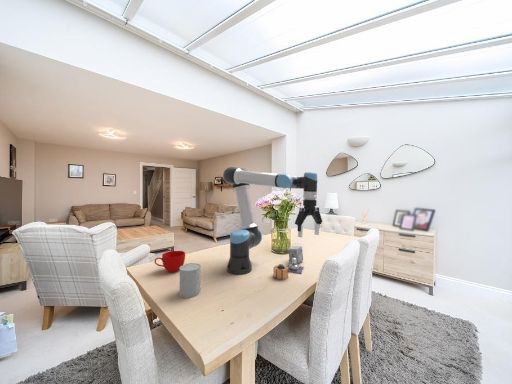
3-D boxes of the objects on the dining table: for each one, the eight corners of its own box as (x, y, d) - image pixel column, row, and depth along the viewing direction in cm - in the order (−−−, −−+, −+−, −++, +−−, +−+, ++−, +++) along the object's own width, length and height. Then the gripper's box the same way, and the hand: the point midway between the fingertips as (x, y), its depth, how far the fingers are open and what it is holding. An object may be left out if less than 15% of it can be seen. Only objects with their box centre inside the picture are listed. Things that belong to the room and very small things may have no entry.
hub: (284, 271, 127) (284, 259, 127) (287, 265, 136) (288, 255, 136) (301, 273, 123) (301, 262, 123) (303, 268, 133) (303, 257, 133)
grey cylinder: (192, 286, 106) (193, 261, 106) (204, 292, 100) (204, 266, 100) (175, 293, 99) (175, 267, 99) (186, 300, 93) (187, 272, 93)
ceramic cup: (154, 269, 127) (154, 253, 127) (183, 265, 135) (183, 249, 135) (154, 277, 116) (154, 259, 116) (186, 272, 124) (186, 255, 124)
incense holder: (292, 259, 150) (292, 244, 150) (303, 261, 146) (303, 246, 146) (286, 263, 142) (286, 247, 142) (298, 265, 137) (298, 249, 137)
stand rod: (278, 276, 119) (278, 265, 119) (279, 275, 121) (279, 264, 121) (282, 277, 118) (282, 266, 118) (283, 275, 120) (283, 264, 120)
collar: (272, 277, 117) (272, 269, 117) (276, 272, 125) (276, 264, 125) (286, 280, 114) (286, 271, 114) (289, 274, 122) (289, 266, 122)
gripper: (298, 199, 112) (297, 239, 112) (329, 199, 125) (328, 235, 126) (289, 198, 118) (287, 236, 118) (319, 198, 132) (318, 232, 132)
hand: (308, 235), depth 122 cm, fingers open, 13 cm apart
